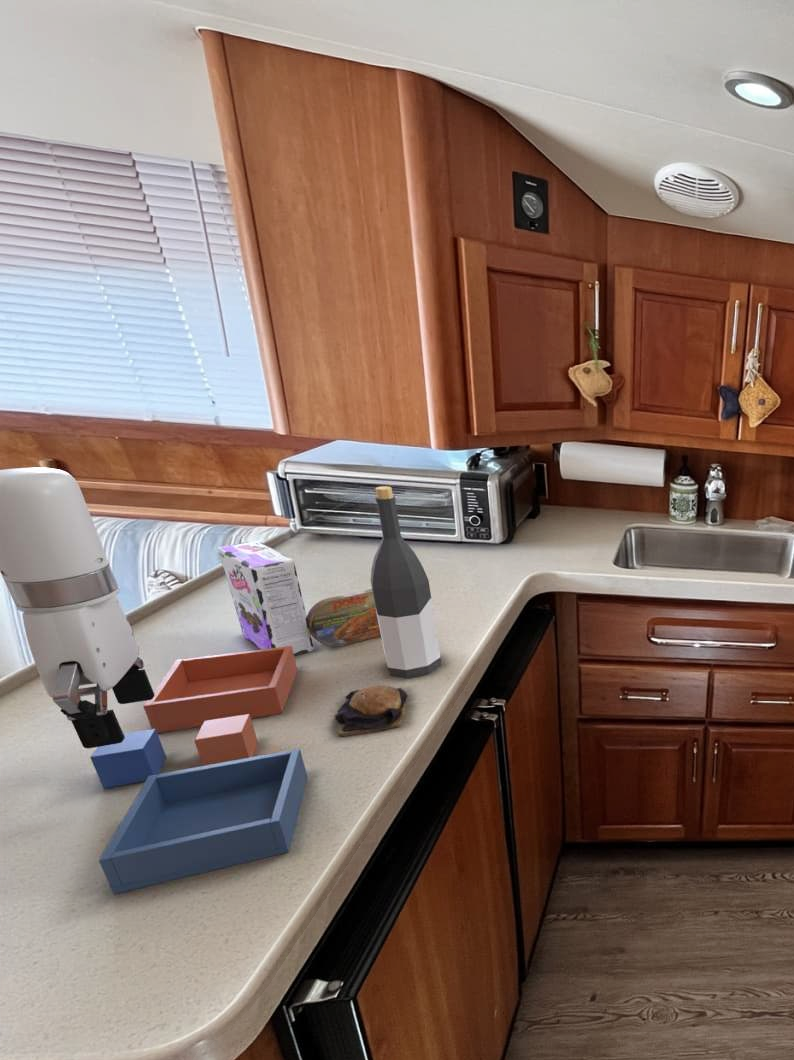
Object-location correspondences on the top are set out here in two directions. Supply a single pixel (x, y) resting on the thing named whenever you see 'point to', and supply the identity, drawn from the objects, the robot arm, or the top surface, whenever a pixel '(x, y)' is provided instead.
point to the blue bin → (206, 820)
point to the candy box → (266, 596)
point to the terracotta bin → (222, 688)
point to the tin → (344, 619)
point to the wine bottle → (402, 599)
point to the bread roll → (371, 710)
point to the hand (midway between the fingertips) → (122, 721)
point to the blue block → (129, 759)
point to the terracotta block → (226, 739)
